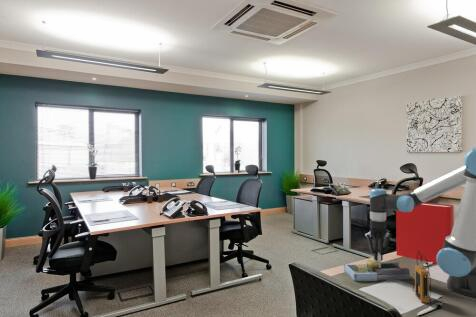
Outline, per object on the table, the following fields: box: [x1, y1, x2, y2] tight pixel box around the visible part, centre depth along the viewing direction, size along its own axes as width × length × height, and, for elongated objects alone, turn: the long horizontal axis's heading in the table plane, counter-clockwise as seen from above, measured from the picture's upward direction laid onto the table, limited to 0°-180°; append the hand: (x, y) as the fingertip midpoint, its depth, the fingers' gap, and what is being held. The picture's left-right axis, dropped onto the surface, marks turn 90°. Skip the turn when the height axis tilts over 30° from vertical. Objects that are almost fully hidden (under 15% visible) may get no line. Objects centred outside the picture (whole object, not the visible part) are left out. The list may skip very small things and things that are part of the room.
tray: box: [343, 263, 378, 282], centre depth 153 cm, size 13×11×4 cm
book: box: [395, 202, 455, 265], centre depth 176 cm, size 27×8×32 cm, turn 42°
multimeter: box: [412, 250, 447, 309], centre depth 127 cm, size 15×10×20 cm
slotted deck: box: [366, 261, 411, 281], centre depth 154 cm, size 12×16×4 cm
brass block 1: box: [355, 263, 367, 273], centre depth 153 cm, size 4×4×4 cm
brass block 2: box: [366, 259, 379, 272], centre depth 153 cm, size 4×4×4 cm
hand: (378, 266), depth 154 cm, fingers closed
